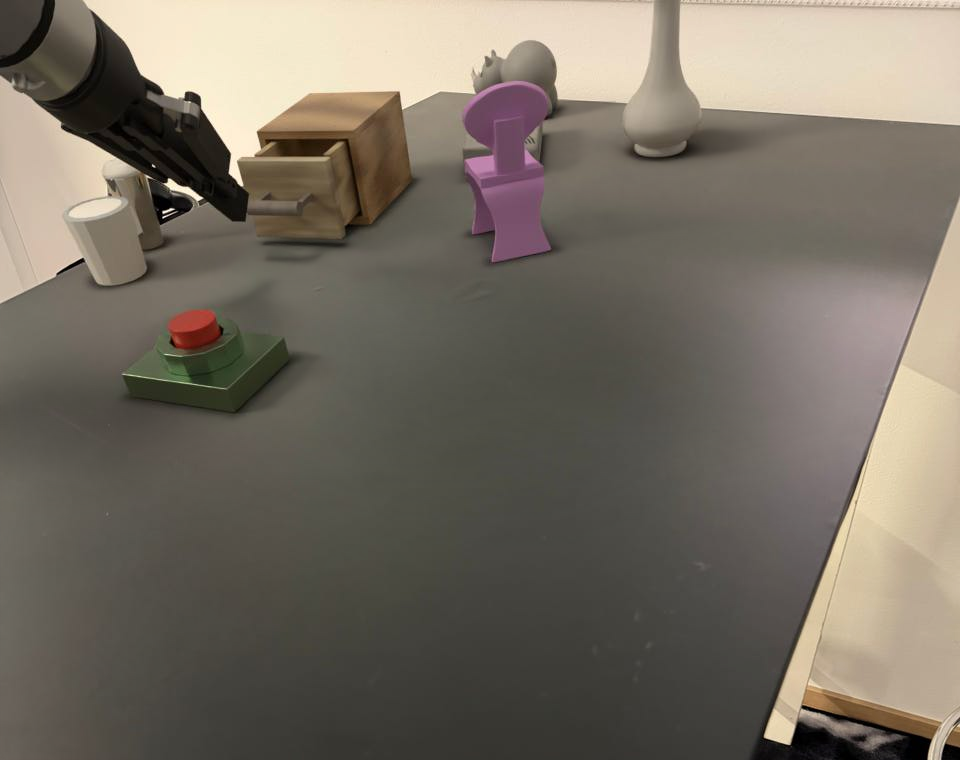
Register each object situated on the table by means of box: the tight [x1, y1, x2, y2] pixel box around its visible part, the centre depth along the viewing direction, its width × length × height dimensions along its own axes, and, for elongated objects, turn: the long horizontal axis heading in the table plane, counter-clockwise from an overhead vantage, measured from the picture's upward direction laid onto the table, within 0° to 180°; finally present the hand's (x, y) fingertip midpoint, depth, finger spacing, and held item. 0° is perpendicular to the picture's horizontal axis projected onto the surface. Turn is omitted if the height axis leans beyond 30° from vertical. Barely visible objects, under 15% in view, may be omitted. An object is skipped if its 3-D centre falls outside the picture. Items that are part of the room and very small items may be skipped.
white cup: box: [61, 195, 148, 286], centre depth 93 cm, size 7×7×7 cm
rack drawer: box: [236, 139, 361, 240], centre depth 95 cm, size 17×10×8 cm, turn 162°
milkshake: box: [101, 157, 165, 251], centre depth 97 cm, size 4×5×10 cm
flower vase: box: [621, 0, 703, 158], centre depth 97 cm, size 13×18×25 cm
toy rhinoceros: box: [470, 39, 559, 117], centre depth 118 cm, size 7×12×8 cm, turn 72°
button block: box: [121, 316, 291, 413], centre depth 75 cm, size 11×9×4 cm
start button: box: [167, 308, 221, 349], centre depth 74 cm, size 4×4×2 cm
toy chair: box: [461, 81, 552, 263], centre depth 86 cm, size 8×9×15 cm
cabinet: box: [256, 90, 413, 226], centre depth 101 cm, size 14×12×10 cm
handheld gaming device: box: [462, 122, 544, 177], centre depth 108 cm, size 9×15×4 cm, turn 175°
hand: (240, 207), depth 84 cm, fingers closed
